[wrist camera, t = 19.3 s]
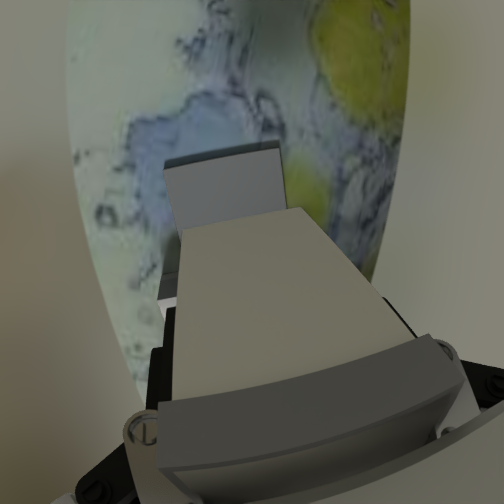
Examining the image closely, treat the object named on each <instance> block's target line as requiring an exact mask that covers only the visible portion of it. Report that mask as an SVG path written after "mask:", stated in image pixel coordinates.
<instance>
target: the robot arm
mask: <svg viewBox="0 0 504 504" xmlns="http://www.w3.org/2000/svg"><path fill="white" fill-rule="evenodd" d="M382 298H383V299H384V300H385V302H386V303H387V304H388V305H389V306H390V308H391V309H392V310H393V311H394V312H395V314H396V315H397V316H398V317H399V319H400V320H401V321H402V322H403V323H404V325H405V326H406V327H407V328H408V330H409V331H410V332H411V333H412V335H413V336H414V337H415V338H418V337H417V336H416V334H415V333H414V332H413V331H412V329H411V328H410V327H409V326H408V324H407V323H406V322H405V321H404V320H403V318H402V317H401V316H400V315H399V313H398V312H397V311H396V310H395V309H394V308H393V306H392V305H391V304H390V303H389V302H388V300H387V299H386V298H384V297H382ZM175 315H176V306H174V307H169V308H167V309H166V318H165V328H164V338H163V347H158V348H153V349H152V351H151V358H150V367H149V376H148V386H147V397H146V409H145V410H143V411H139V412H137V413H135V414H134V415H132V416H131V417H130V418H129V419H128V420H127V422H126V423H125V425H124V428H123V439H124V442H123V443H122V444H121V445H120V446H119V447H118V448H116V449H115V450H114V451H113V452H112V453H111V454H110V455H108V456H107V457H106V458H105V459H104V460H102V461H101V462H100V463H99V464H98V465H96V466H95V467H94V468H93V469H92V470H90V471H89V472H88V473H87V474H86V475H84V476H83V477H82V478H81V479H80V480H79V482H78V484H77V486H76V489H75V493H73V494H70V493H69V492H68V493H66V494H65V495H63V496H62V497H60V498H58V499H57V500H55V501H53V502H52V503H50V504H206V503H205V502H206V501H205V499H204V498H203V497H202V496H201V495H200V494H199V493H190V494H183V493H182V492H181V491H180V490H179V489H178V488H177V487H176V486H175V485H174V484H172V483H171V482H170V481H169V480H168V479H167V478H166V477H165V476H164V475H163V474H162V473H161V472H160V471H159V470H158V469H157V468H156V451H157V417H158V402H165V401H172V378H173V351H174V331H175ZM434 340H435V341H436V343H437V344H438V345H439V346H440V347H441V349H442V350H443V351H444V352H445V353H446V355H447V356H448V357H449V358H450V360H451V361H452V362H453V363H454V365H455V366H456V367H457V368H458V370H459V371H460V372H461V373H462V375H463V376H464V377H465V379H466V380H465V382H464V384H463V386H462V388H461V390H460V392H459V394H458V396H457V398H456V400H455V401H454V403H453V405H452V407H451V409H450V410H449V412H448V414H447V416H446V417H445V419H444V420H442V421H440V422H438V423H436V424H434V425H433V427H432V429H431V431H430V432H429V434H428V435H427V436H428V437H430V438H429V440H428V441H427V443H426V444H425V446H423V447H421V448H419V449H417V450H415V451H412V452H410V453H408V454H406V455H404V456H402V457H399V458H397V459H395V460H392V461H390V462H388V463H385V464H383V465H380V466H378V467H375V468H373V469H370V470H368V471H365V472H362V473H360V474H357V475H354V476H351V477H348V478H345V479H342V480H339V481H336V482H333V483H330V484H327V485H323V486H320V487H316V488H313V489H309V490H305V491H301V492H297V493H293V494H289V495H285V496H280V497H276V498H271V499H266V500H260V501H255V502H249V503H243V504H504V369H501V368H497V367H492V366H487V365H482V364H478V363H473V362H468V361H464V360H460V359H459V357H458V355H457V352H456V351H455V349H454V348H453V347H452V346H451V345H450V344H449V343H447V342H445V341H442V340H437V339H434Z"/></svg>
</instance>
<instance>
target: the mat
mask: <svg viewBox="0 0 504 504" xmlns="http://www.w3.org/2000/svg"><path fill="white" fill-rule="evenodd" d="M163 174H164V178H165V183H166V187H167V191H168V195H169V200H170V204H171V208H172V212H173V216H174V220H175V224H176V228H177V232H178V235H179V239H180V243H182V234H183V230H185V229H190V228H194V227H199V226H204V225H209V224H213V223H218V222H223V221H228V220H233V219H238V218H243V217H248V216H253V215H259V214H264V213H269V212H274V211H280V210H285V209H286V200H285V192H284V183H283V175H282V167H281V159H280V151H279V148H278V147H275V148H269V149H262V150H256V151H250V152H244V153H239V154H233V155H227V156H222V157H217V158H212V159H207V160H202V161H197V162H192V163H188V164H183V165H179V166H174V167H170V168H165V169H163Z"/></svg>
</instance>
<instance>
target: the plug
mask: <svg viewBox="0 0 504 504" xmlns="http://www.w3.org/2000/svg"><path fill="white" fill-rule="evenodd" d="M465 380H466V379H465V377H464V376H463V375H462V373H461V372H460V371H459V370H458V368H457V367H456V366H455V365H454V363H453V362H452V361H451V360H450V358H449V357H448V356H447V355H446V353H445V352H444V351H443V350H442V349H441V347H440V346H439V345H438V344H437V343H436V341H435V340H434V339H433V338H432V337H431V335H430V334H426V335H423V336H421V337H418V338H415V337H414V336H413V335H412V333H411V332H410V331H409V330H408V328H407V327H406V326H405V325H404V323H403V322H402V321H401V320H400V319H399V317H398V316H397V315H396V314H395V312H394V311H393V310H392V309H391V308H390V306H389V305H388V304H387V303H386V302H385V300H384V299H383V298H382V297H381V296H380V295H379V294H378V292H377V291H376V290H375V289H374V288H373V286H372V285H371V284H370V283H369V282H368V281H367V279H366V278H365V277H364V276H363V275H362V274H361V272H360V271H359V270H358V269H357V268H356V267H355V266H354V265H353V263H352V262H351V261H350V260H349V259H348V258H347V257H346V256H345V254H344V253H343V252H342V251H341V250H340V249H339V248H338V247H337V246H336V244H335V243H334V242H333V241H332V240H331V239H330V238H329V237H328V236H327V235H326V233H325V232H324V231H323V230H322V229H321V228H320V227H319V226H318V225H317V224H316V223H315V222H314V221H313V219H312V218H311V217H310V216H309V215H308V214H307V213H306V212H305V211H304V210H303V209H302V208H301V207H296V208H291V209H285V210H280V211H274V212H269V213H264V214H259V215H253V216H248V217H243V218H238V219H233V220H228V221H223V222H218V223H213V224H209V225H204V226H199V227H194V228H190V229H185V230H183V234H182V243H181V253H180V264H179V275H178V287H177V300H176V315H175V331H174V351H173V378H172V401H165V402H158V417H157V451H156V468H157V469H158V470H159V471H160V472H161V473H162V474H163V475H164V476H165V477H166V478H167V479H168V480H169V481H170V482H171V483H172V484H174V485H175V486H176V487H177V488H178V489H179V490H180V491H181V492H182V493H183V494H190V493H199V494H200V495H201V496H202V497H203V498H204V499H205V501H206V502H205V503H206V504H243V503H249V502H255V501H260V500H266V499H271V498H276V497H280V496H285V495H289V494H293V493H297V492H301V491H305V490H309V489H313V488H316V487H320V486H323V485H327V484H330V483H333V482H336V481H339V480H342V479H345V478H348V477H351V476H354V475H357V474H360V473H362V472H365V471H368V470H370V469H373V468H375V467H378V466H380V465H383V464H385V463H388V462H390V461H392V460H395V459H397V458H399V457H402V456H404V455H406V454H408V453H410V452H412V451H415V450H417V449H419V448H421V447H423V446H425V444H426V443H427V441H428V440H429V438H430V437H428V436H427V435H428V434H429V432H430V431H431V429H432V427H433V425H434V424H436V423H438V422H440V421H442V420H444V419H445V417H446V416H447V414H448V412H449V410H450V409H451V407H452V405H453V403H454V401H455V400H456V398H457V396H458V394H459V392H460V390H461V388H462V386H463V384H464V382H465Z"/></svg>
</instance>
